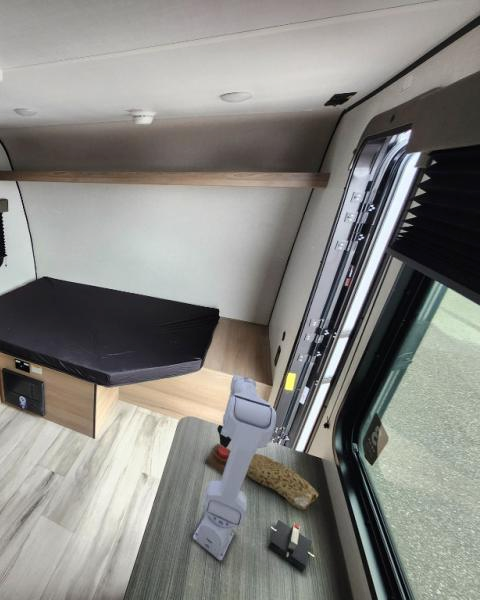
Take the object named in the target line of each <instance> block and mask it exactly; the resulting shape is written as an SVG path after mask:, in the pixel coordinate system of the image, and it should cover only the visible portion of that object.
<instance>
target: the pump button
mask: <svg viewBox="0 0 480 600" xmlns="http://www.w3.org/2000/svg"><path fill="white" fill-rule="evenodd" d="M228 449H229V448H228V447H227V448H225V447H224V446H223V447H219V448H218V452H217V453H218V455H219V456H220V457H222V458H225V459H226V458H228V457H229V453H230V452H229V450H230V449H229V450H228Z"/></svg>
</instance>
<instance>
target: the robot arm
mask: <svg viewBox="0 0 480 600" xmlns="http://www.w3.org/2000/svg"><path fill="white" fill-rule="evenodd" d="M229 391H230V393H229V397H228V400H227V403H226V404H227V405H226V408H225V411H224V414H223V416H222V425H221V424H219V425H218V426H217V429H216V430H217V433H218V435H219V436H218V437H219V444H220V445H221V446H223V447H225V448H227V449H228V447H229V445H230V443H231V448H230V454H229V457H228V460H227V463H226V466H225V470H224V473H223V474H222V476H221V479H219V480H210V481H209V482H208V483H207V486H205V490H204V494H203V500H202V509H203V511H205V512H204V515H203V518H202V520H201V522H200V523H199V525H198V527H197V529H196V530H195V532H194V533H193V535H192V539H193V541H195V542H196V543H198V545H200V546H201V547H203V548H204V549H205V550H206V551H207V552H208V553H210V554H211V555H212V556H214V557H215V558H216V559H217V560H218V561H220V562H221V561H223V559H224V558H225V554H226V553H227V550H228V548H229V545H230V543H231V542H232V539H233V537H234V535H235V532H233V530H234V528H237V526H238V527H241V526H243V525H244V523H245V521H246V514H247V510H248V499H247V496H246V494H245V493H244V492H243V491H242V490H241V488H242V486H243V483H244V481H245V479H246V476H247V474H246V473H247V470H248V468H249V465H250V462H251V460H252V458H253V456H254V454H256V452H257V450H258V449H259V450H260V449H263V448H267V446H268V444H269V443H270V442H271V439H272V436H273V434H274V431H275V427H276V424H277V423H276V422H277V411H276V410H275V408H274V407H271V405H272V404H271V403H270V402H268V401H267V400H265V399H263V398H261V397H260V396H259V395H258V390H257V382H256V381H254V379H252V378H249V377H246V376H242V375H238V374H233V377H232V379H231V382H230V388H229Z"/></svg>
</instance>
